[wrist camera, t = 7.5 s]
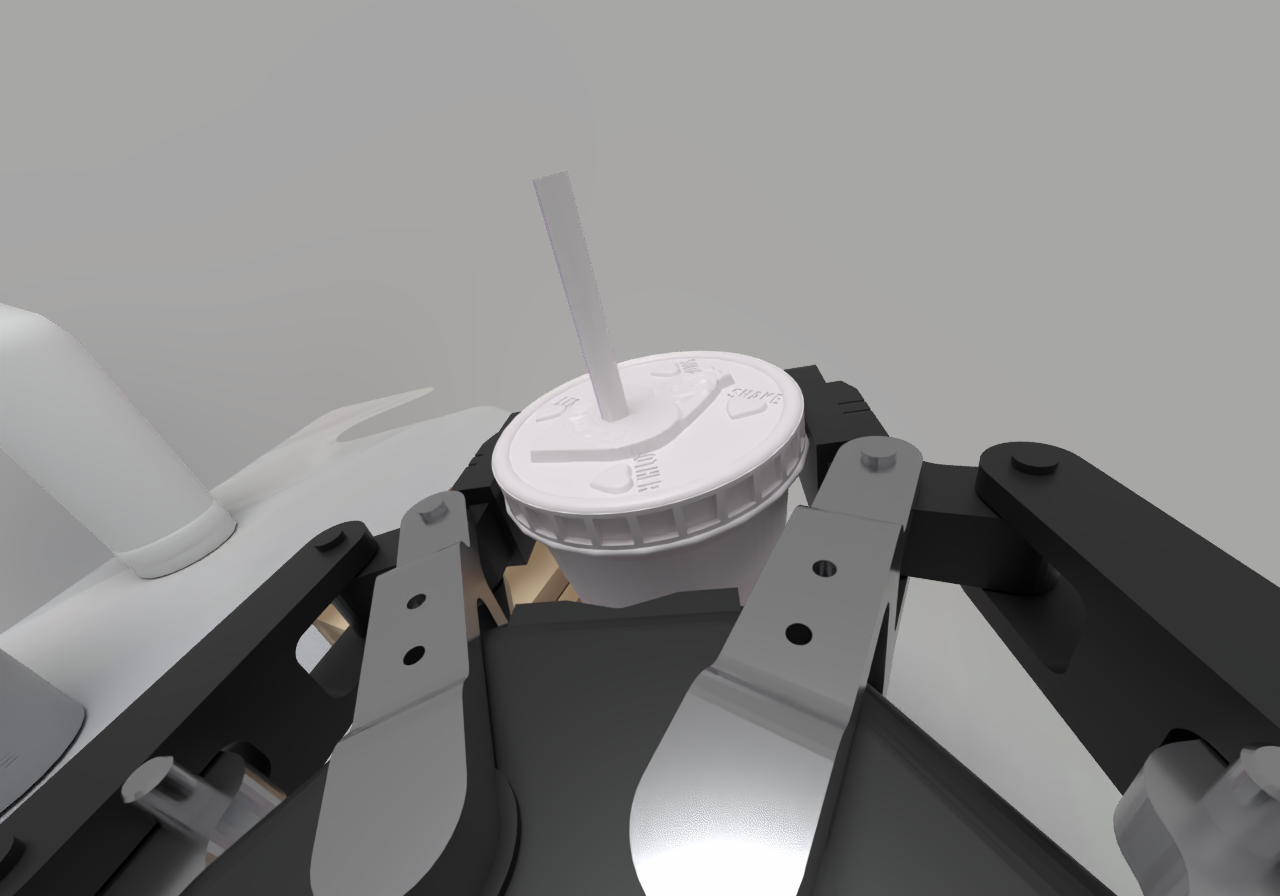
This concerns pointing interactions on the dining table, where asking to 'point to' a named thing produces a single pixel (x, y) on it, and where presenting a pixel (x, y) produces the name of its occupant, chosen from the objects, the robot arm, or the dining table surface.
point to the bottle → (100, 451)
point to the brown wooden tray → (525, 581)
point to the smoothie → (649, 454)
